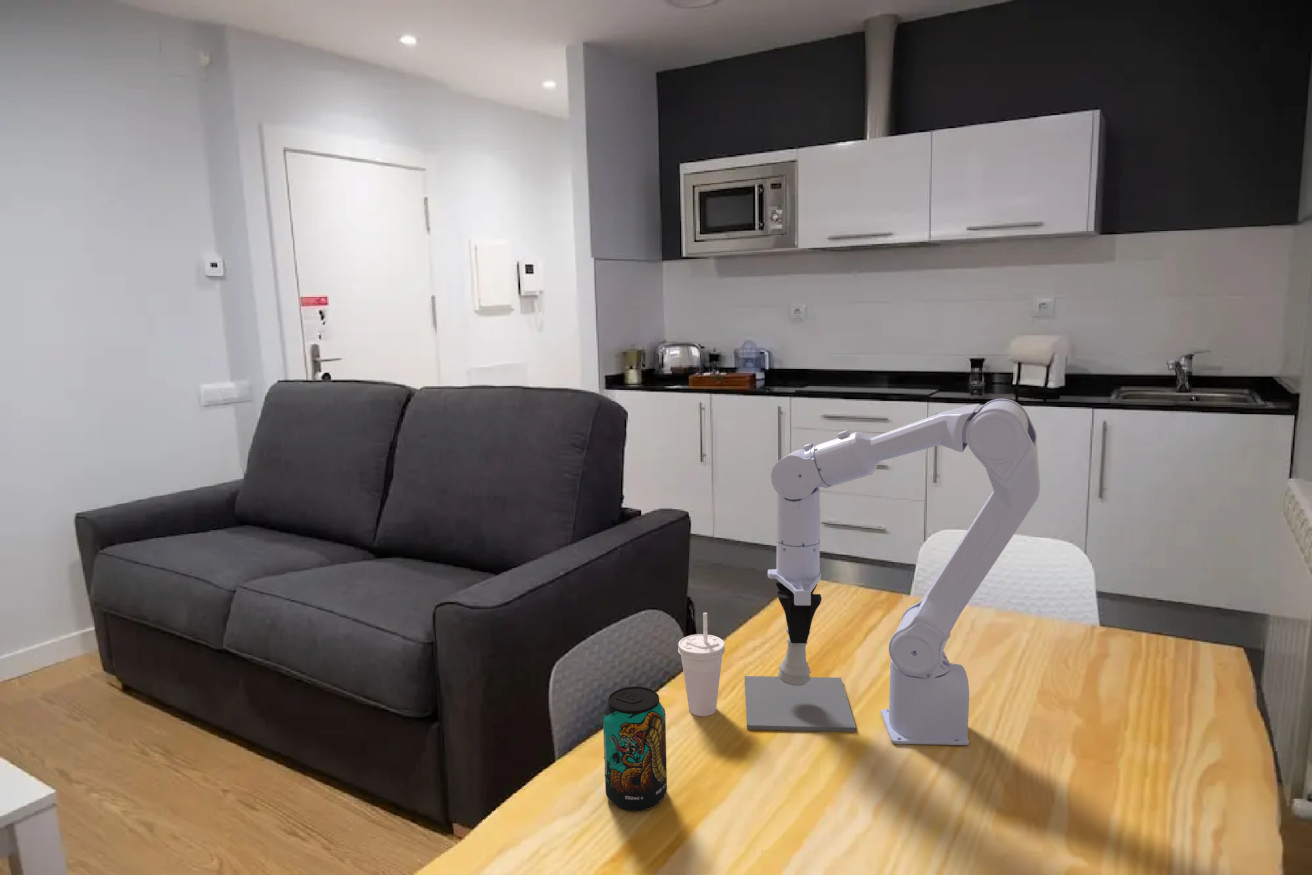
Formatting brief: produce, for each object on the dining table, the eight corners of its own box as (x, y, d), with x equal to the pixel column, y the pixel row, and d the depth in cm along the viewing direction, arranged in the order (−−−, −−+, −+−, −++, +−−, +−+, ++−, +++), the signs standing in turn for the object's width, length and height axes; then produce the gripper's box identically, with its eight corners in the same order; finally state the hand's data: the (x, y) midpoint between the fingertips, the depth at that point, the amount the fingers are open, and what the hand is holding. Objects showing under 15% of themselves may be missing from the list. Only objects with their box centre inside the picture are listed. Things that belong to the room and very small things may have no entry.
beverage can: (645, 822, 90) (642, 720, 88) (593, 802, 94) (589, 704, 91) (678, 788, 96) (676, 692, 94) (628, 771, 99) (625, 678, 97)
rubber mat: (841, 681, 121) (841, 677, 121) (855, 731, 107) (855, 727, 107) (744, 679, 122) (744, 675, 122) (747, 729, 108) (747, 725, 108)
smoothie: (722, 723, 110) (721, 623, 108) (675, 719, 111) (673, 620, 109) (728, 699, 116) (727, 605, 114) (683, 696, 117) (681, 602, 115)
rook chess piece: (773, 671, 116) (778, 617, 114) (804, 671, 116) (809, 618, 115) (782, 687, 111) (787, 631, 110) (814, 686, 112) (819, 631, 111)
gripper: (765, 525, 118) (765, 615, 120) (770, 557, 104) (770, 659, 106) (815, 525, 117) (814, 615, 120) (827, 557, 103) (826, 659, 105)
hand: (797, 636), depth 113 cm, fingers closed on rook chess piece, 3 cm apart
